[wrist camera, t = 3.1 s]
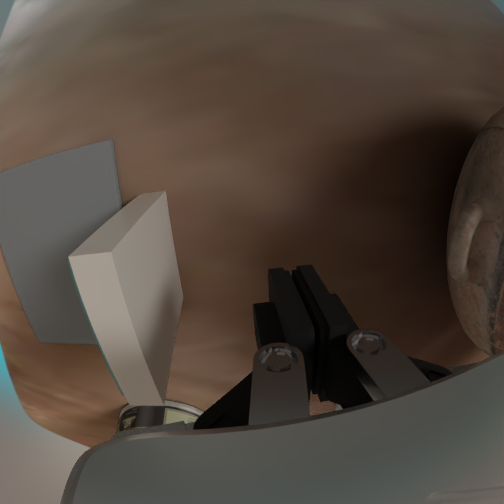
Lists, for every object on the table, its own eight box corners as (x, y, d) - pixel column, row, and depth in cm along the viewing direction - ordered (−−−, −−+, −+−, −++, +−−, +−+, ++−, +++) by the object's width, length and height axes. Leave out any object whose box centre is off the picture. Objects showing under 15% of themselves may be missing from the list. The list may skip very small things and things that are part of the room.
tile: (165, 190, 16) (111, 251, 8) (183, 296, 19) (164, 405, 11) (134, 195, 16) (60, 257, 8) (155, 298, 19) (123, 404, 11)
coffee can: (124, 441, 26) (107, 547, 13) (115, 388, 22) (81, 529, 9) (213, 455, 28) (218, 562, 15) (228, 406, 24) (239, 552, 11)
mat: (112, 139, 15) (110, 139, 14) (155, 340, 20) (154, 343, 20) (-11, 177, 14) (-15, 178, 14) (41, 339, 19) (39, 342, 19)
